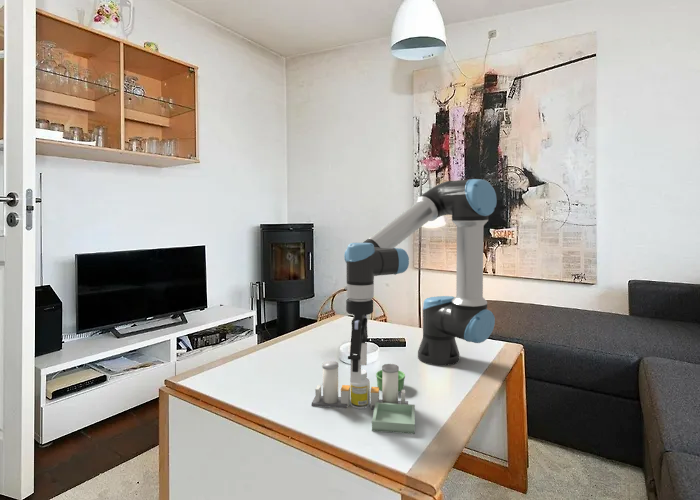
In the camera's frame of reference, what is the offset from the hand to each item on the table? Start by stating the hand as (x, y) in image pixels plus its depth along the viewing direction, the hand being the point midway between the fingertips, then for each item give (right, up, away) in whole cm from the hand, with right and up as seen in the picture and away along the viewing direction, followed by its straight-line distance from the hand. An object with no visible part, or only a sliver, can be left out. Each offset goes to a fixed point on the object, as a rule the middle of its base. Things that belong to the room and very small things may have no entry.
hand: (359, 373), depth 120 cm
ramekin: (+10, -9, +13) cm, 18 cm away
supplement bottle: (0, -10, +1) cm, 10 cm away
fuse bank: (0, -9, +1) cm, 9 cm away
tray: (+9, -10, -8) cm, 16 cm away
